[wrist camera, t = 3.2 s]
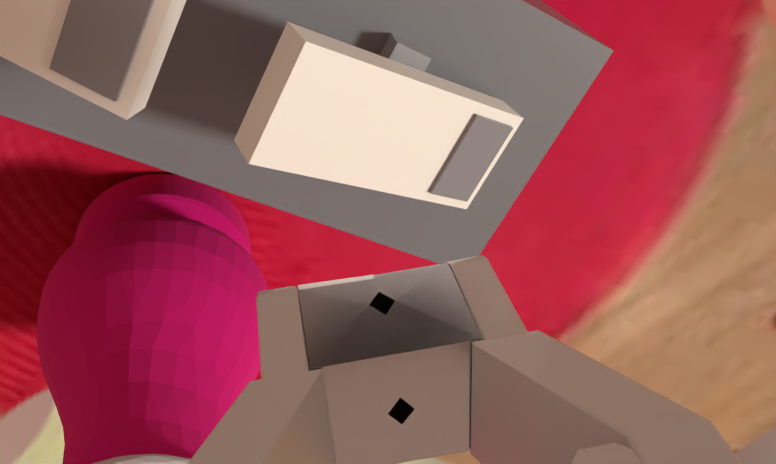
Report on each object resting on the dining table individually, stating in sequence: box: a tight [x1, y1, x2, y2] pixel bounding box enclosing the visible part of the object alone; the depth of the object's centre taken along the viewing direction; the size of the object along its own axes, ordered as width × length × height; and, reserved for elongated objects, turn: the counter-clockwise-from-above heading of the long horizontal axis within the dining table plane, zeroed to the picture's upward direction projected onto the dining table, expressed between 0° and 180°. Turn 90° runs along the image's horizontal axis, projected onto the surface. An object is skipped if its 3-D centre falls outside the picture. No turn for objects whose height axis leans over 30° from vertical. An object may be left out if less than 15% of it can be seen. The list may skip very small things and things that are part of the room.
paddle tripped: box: [234, 22, 524, 209], centre depth 18 cm, size 3×7×1 cm, turn 62°
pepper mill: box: [37, 174, 268, 464], centre depth 19 cm, size 7×7×20 cm
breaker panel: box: [0, 0, 613, 264], centre depth 20 cm, size 8×20×7 cm, turn 62°
